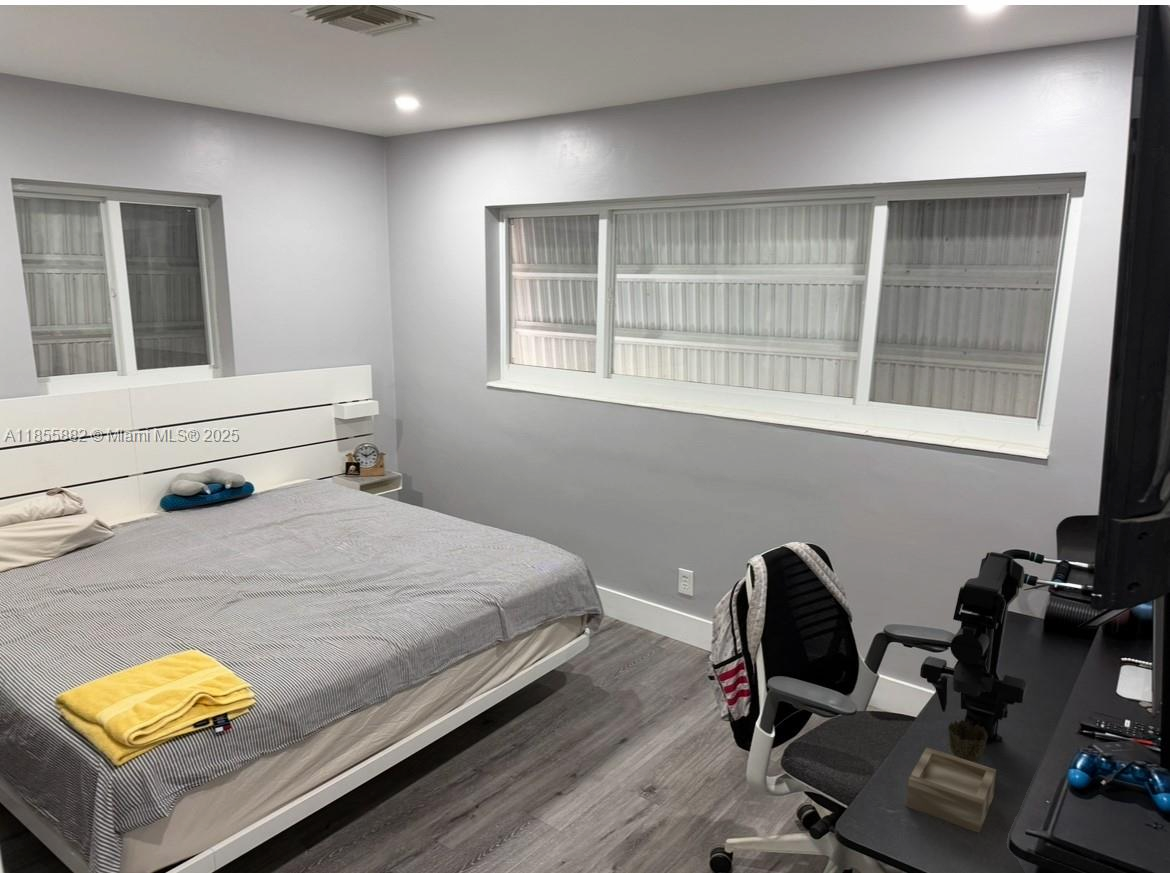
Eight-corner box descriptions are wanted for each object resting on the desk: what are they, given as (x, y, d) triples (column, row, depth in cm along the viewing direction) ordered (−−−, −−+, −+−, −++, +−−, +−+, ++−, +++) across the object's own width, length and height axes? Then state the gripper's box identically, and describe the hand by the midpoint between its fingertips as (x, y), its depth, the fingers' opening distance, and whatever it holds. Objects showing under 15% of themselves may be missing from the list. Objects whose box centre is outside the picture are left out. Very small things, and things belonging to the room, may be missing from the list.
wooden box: (924, 773, 167) (926, 747, 166) (993, 797, 160) (996, 769, 158) (906, 806, 157) (908, 778, 156) (979, 833, 149) (982, 804, 148)
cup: (989, 763, 171) (993, 729, 169) (977, 779, 165) (981, 743, 164) (953, 749, 176) (956, 715, 174) (940, 764, 170) (943, 729, 169)
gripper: (917, 647, 160) (910, 720, 163) (1023, 673, 150) (1014, 750, 152) (929, 629, 169) (923, 698, 172) (1030, 652, 159) (1022, 725, 161)
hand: (968, 718), depth 164 cm, fingers open, 9 cm apart
